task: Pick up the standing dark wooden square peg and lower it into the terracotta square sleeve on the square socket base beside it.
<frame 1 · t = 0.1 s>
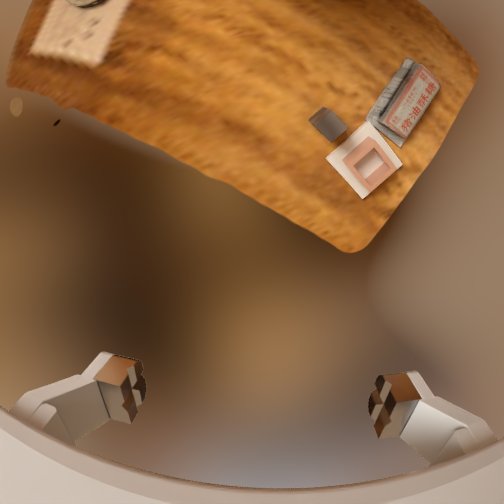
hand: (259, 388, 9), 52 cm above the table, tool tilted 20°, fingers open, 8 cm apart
packaged product: (402, 100, 46), on the table
peg: (322, 120, 50), on the table
square socket base: (364, 159, 54), on the table
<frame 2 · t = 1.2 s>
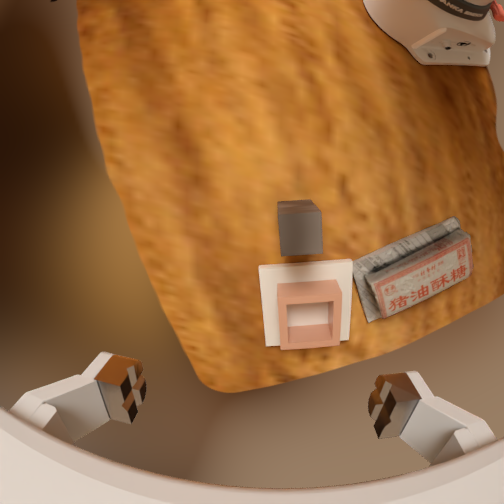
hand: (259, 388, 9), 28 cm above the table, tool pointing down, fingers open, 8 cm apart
packaged product: (411, 266, 36), on the table, touching square socket base
peg: (295, 216, 35), on the table
square socket base: (306, 303, 38), on the table
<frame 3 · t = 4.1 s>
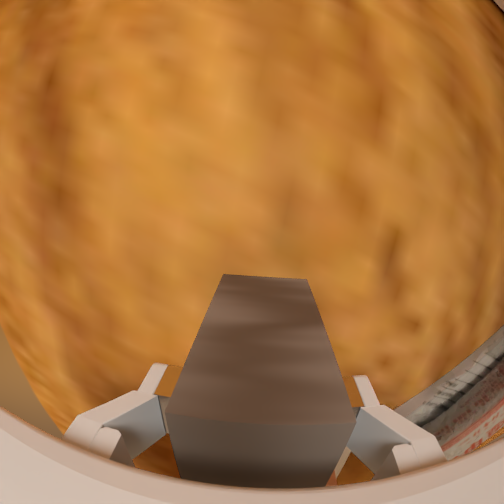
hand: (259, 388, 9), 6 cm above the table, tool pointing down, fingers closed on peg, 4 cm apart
packaged product: (456, 398, 16), on the table
peg: (262, 314, 14), on the table, touching gripper
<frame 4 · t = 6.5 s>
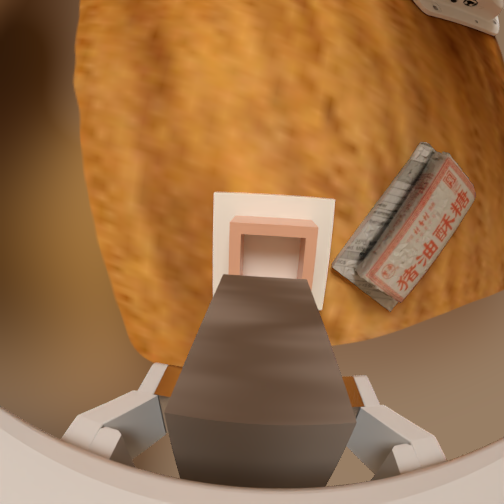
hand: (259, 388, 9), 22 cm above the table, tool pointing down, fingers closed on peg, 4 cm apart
packaged product: (405, 225, 29), on the table
peg: (262, 314, 14), point 17 cm above the table, touching gripper
square socket base: (271, 251, 30), on the table
when the fingers open (8 cm above the table, at t = 9.0 s): peg drops 1 cm, resting on square socket base.
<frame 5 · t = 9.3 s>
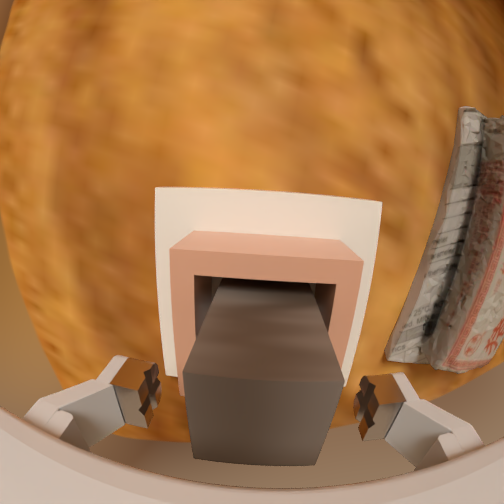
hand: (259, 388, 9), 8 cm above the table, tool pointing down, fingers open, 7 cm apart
packaged product: (473, 247, 16), on the table
peg: (263, 302, 16), point 1 cm above the table, touching square socket base
square socket base: (262, 294, 17), on the table
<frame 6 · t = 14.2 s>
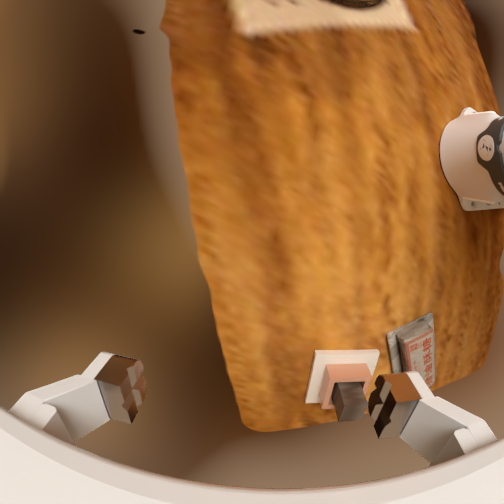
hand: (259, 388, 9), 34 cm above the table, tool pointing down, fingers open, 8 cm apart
packaged product: (411, 355, 47), on the table
peg: (342, 379, 47), point 1 cm above the table, touching square socket base
square socket base: (340, 376, 48), on the table
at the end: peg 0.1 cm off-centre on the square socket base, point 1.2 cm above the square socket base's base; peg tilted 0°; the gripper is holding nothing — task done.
